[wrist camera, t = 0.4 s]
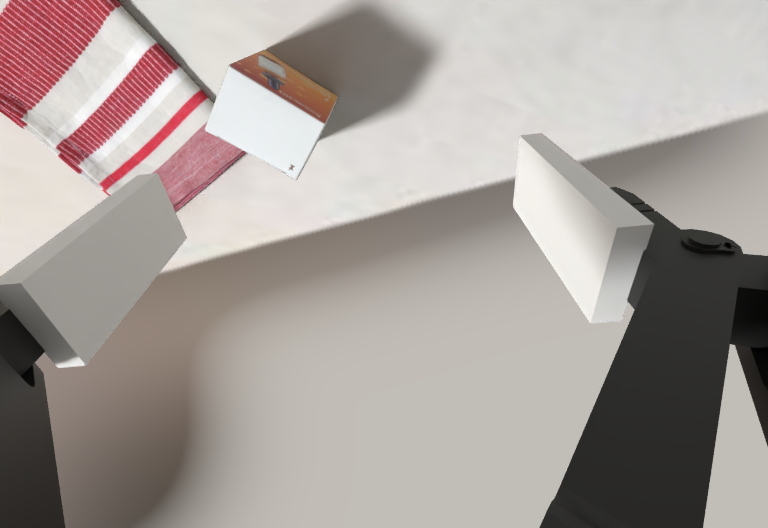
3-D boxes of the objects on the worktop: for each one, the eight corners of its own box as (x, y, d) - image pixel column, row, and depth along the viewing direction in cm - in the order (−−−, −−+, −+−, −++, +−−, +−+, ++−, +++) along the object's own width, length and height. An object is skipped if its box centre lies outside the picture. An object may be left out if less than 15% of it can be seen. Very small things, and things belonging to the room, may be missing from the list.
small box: (339, 96, 38) (329, 124, 30) (314, 143, 41) (297, 183, 32) (263, 46, 36) (227, 62, 27) (241, 101, 38) (202, 131, 30)
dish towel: (158, 225, 47) (147, 237, 45) (-60, 47, 36) (-88, 50, 34) (256, 142, 41) (249, 150, 39) (34, -98, 30) (7, -105, 28)
